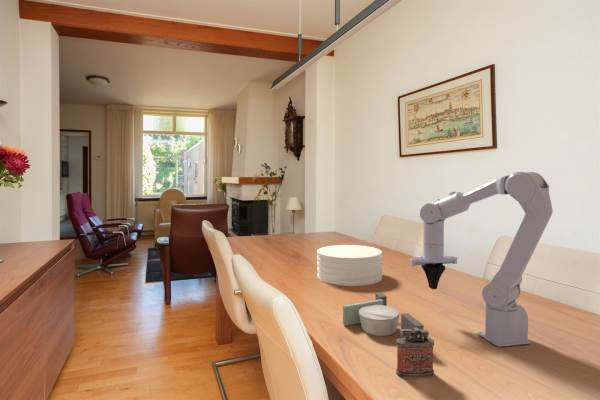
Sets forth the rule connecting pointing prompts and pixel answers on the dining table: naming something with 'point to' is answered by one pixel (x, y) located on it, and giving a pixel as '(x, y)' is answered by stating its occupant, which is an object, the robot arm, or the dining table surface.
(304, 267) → the dining table surface
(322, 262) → the plate stack
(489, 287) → the robot arm
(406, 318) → the grey angled pieces
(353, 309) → the door
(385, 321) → the ramekin
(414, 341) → the lighter
